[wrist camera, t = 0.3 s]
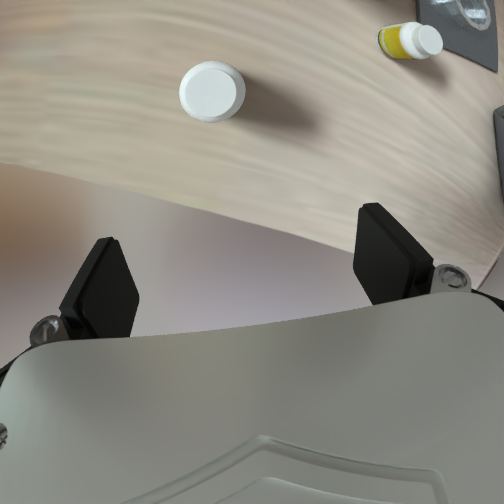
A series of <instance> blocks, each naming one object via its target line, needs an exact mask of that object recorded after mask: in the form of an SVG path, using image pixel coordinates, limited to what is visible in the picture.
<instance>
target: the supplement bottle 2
mask: <svg viewBox="0 0 504 504" xmlns="http://www.w3.org/2000/svg"><path fill="white" fill-rule="evenodd" d="M376 41H377V45H378V47H379V49H380V50H381V52H382V53H383V54H385V55H386V56H387V57H389V58H392V59H426V58H428V57H430V56H431V55H437V54H439V53H440V52H441V51H442V48H443V41H442V38H441V36H440V34H439V32H438V31H437V30H436V29H435V28H433V27H432V26H429V25H422V24H420V23H417V22H406V23H400V24H394V25H389V26H385V27H382V28H381V29H380V30H379V31H378V33H377V36H376Z"/></svg>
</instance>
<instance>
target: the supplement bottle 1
mask: <svg viewBox="0 0 504 504" xmlns="http://www.w3.org/2000/svg"><path fill="white" fill-rule="evenodd" d="M245 93H246V88H245V83H244V80H243V78H242V76H241V74H240V73H239V72H238V71H237V70H236V69H235V68H234V67H233V66H231V65H229V64H227V63H224V62H220V61H207V62H203V63H200V64H198V65H196V66H194V67H193V68H192V69H190V70H189V71H188V72H187V73H186V75H185V76H184V78H183V80H182V82H181V85H180V89H179V96H180V101H181V104H182V106H183V108H184V109H185V111H186V112H187V113H188V114H189V115H190V116H192V117H193V118H195V119H197V120H200V121H203V122H209V123H213V122H220V121H223V120H226V119H228V118H229V117H231V116H232V115H234V114H235V113H236V112H237V111H238V110H239V108H240V107H241V105H242V104H243V101H244V98H245Z"/></svg>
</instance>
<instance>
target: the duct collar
mask: <svg viewBox="0 0 504 504" xmlns="http://www.w3.org/2000/svg"><path fill="white" fill-rule="evenodd" d="M416 11H417V23H420V24H422V25H429V26H432V27H433V28H435V29H436V30H437V31H438V32H439V34H440V36H441V38H442V41H443V48H444V49H447V50H449V51H452V52H454V53H457V54H459V55H461V56H464V57H466V58H468V59H470V60H472V61H474V62H476V63H479V64H481V65H483V66H485V67H487V68H489V69H490V70H492V71H494V72H498V43H497V27H496V16H495V8H494V0H416Z"/></svg>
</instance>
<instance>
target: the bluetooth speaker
mask: <svg viewBox="0 0 504 504" xmlns="http://www.w3.org/2000/svg"><path fill="white" fill-rule="evenodd" d="M494 119H495V128H496V149H497V157H498V166H499V172H500V176H501V180H502V190H503V201H504V105H503V106H501V107H499V108H497V109H495V110H494Z"/></svg>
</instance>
